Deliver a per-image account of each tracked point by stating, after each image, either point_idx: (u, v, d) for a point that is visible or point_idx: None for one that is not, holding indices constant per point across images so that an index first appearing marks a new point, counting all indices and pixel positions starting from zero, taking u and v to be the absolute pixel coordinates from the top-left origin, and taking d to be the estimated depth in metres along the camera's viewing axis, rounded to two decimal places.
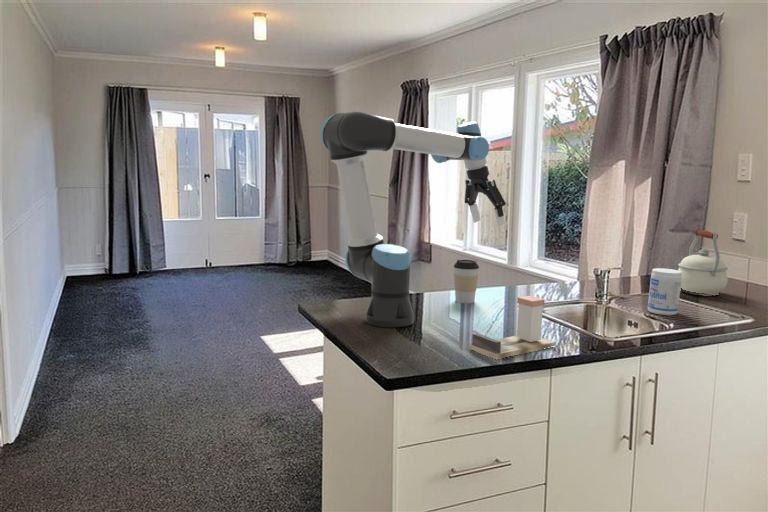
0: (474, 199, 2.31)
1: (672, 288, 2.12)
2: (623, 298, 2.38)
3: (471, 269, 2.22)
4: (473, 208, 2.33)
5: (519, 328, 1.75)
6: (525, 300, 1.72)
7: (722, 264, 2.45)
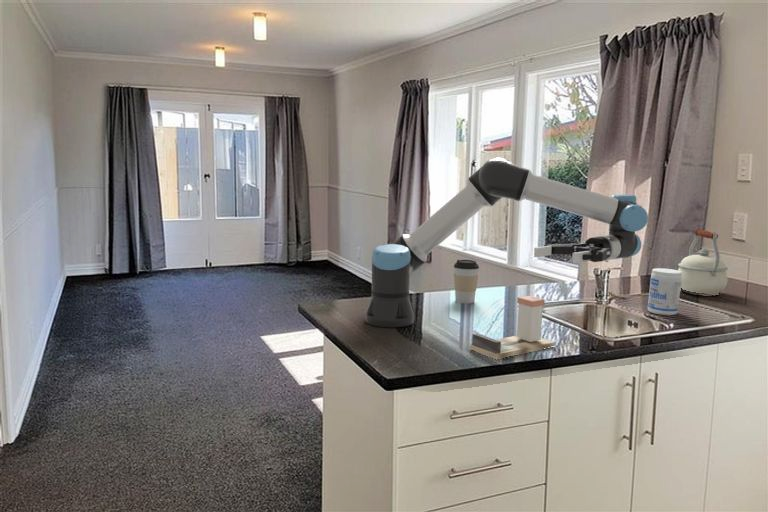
0: (557, 251, 1.87)
1: (672, 288, 2.12)
2: (625, 298, 2.38)
3: (471, 269, 2.22)
4: (548, 248, 1.86)
5: (519, 328, 1.75)
6: (525, 300, 1.72)
7: (722, 264, 2.45)
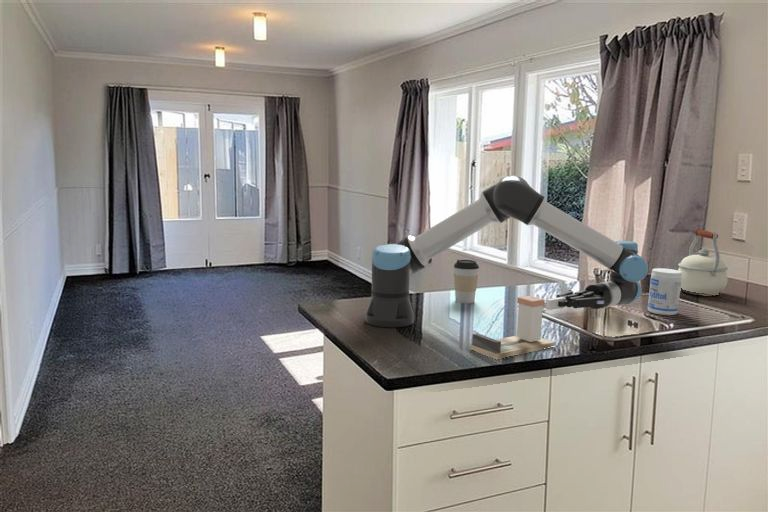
0: None
1: (672, 288, 2.12)
2: None
3: (471, 269, 2.22)
4: None
5: (519, 328, 1.75)
6: (525, 300, 1.72)
7: (722, 264, 2.45)
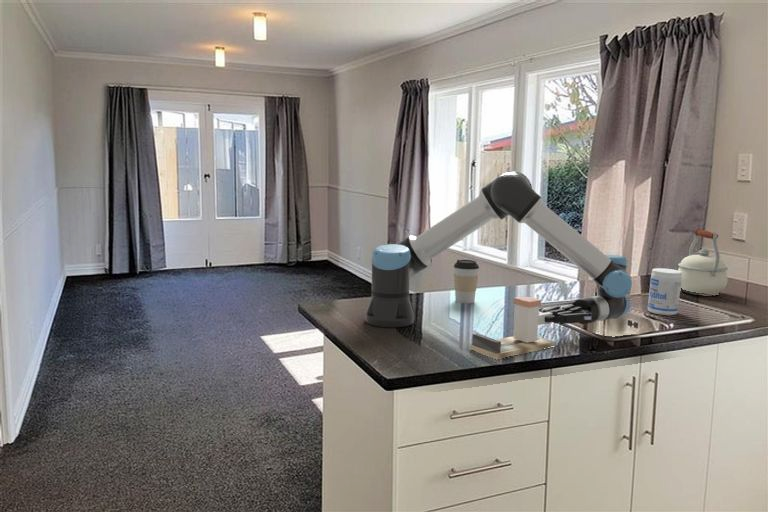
0: None
1: (672, 288, 2.12)
2: None
3: (471, 269, 2.22)
4: None
5: (515, 329, 1.74)
6: (521, 301, 1.71)
7: (722, 264, 2.45)
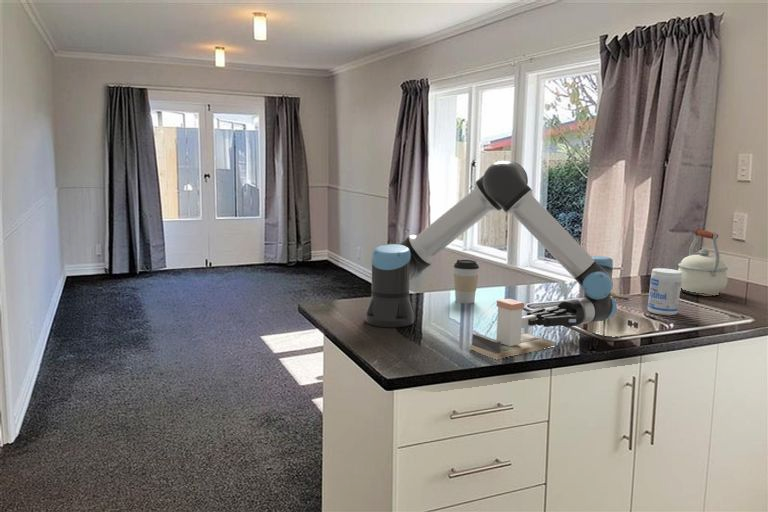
0: None
1: (672, 288, 2.12)
2: (627, 299, 2.37)
3: (471, 269, 2.22)
4: None
5: (498, 332, 1.71)
6: (504, 303, 1.68)
7: (722, 264, 2.45)
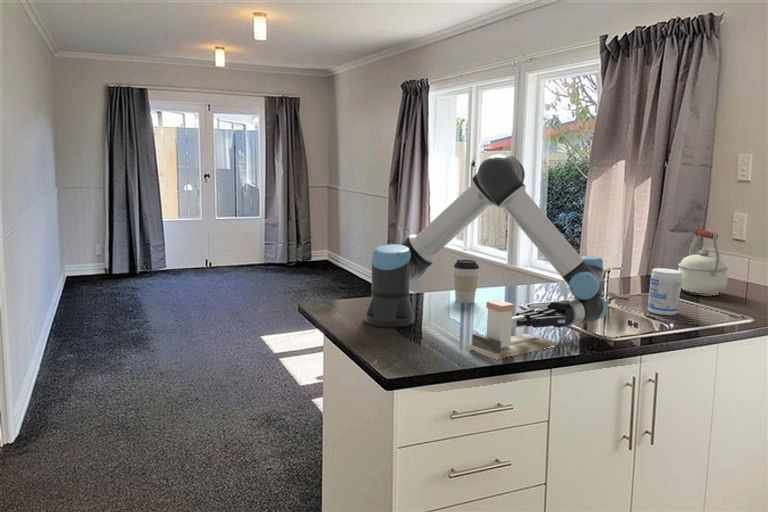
0: None
1: (672, 288, 2.12)
2: (627, 299, 2.37)
3: (471, 269, 2.22)
4: None
5: (488, 334, 1.69)
6: (494, 305, 1.66)
7: (722, 264, 2.45)
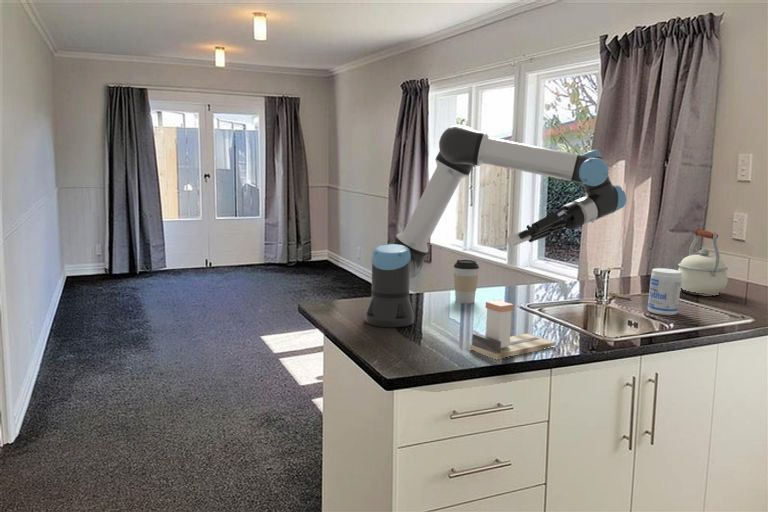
0: None
1: (672, 288, 2.12)
2: (630, 299, 2.36)
3: (471, 269, 2.22)
4: None
5: (487, 334, 1.69)
6: (493, 305, 1.66)
7: (722, 264, 2.45)
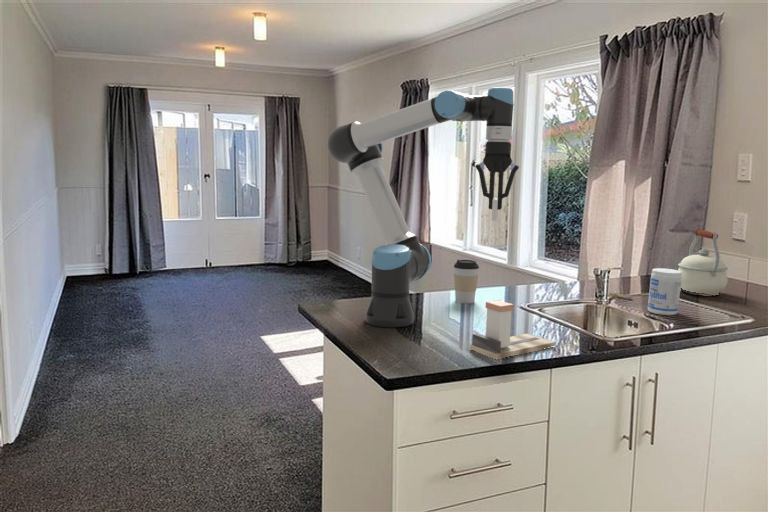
0: (498, 189, 1.90)
1: (672, 288, 2.12)
2: (631, 299, 2.36)
3: (471, 269, 2.22)
4: None
5: (487, 334, 1.69)
6: (493, 305, 1.66)
7: (722, 264, 2.45)
